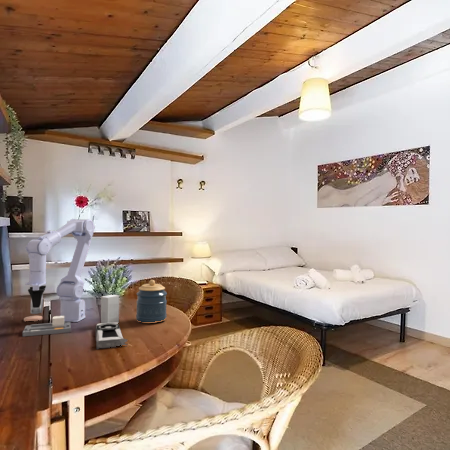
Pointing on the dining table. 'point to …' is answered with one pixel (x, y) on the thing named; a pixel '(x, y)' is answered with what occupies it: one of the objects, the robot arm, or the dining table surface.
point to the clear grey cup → (36, 310)
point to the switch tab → (58, 321)
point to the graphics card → (109, 335)
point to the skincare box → (110, 309)
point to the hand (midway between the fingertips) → (36, 306)
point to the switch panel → (46, 329)
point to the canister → (151, 302)
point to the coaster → (33, 318)
